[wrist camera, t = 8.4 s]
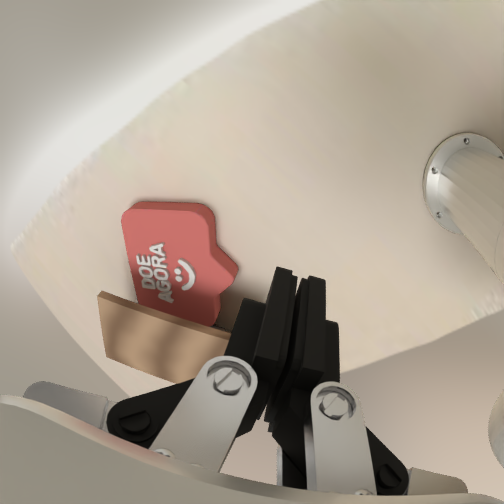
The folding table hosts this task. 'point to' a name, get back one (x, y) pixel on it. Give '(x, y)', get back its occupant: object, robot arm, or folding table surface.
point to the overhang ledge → (157, 339)
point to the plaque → (177, 259)
